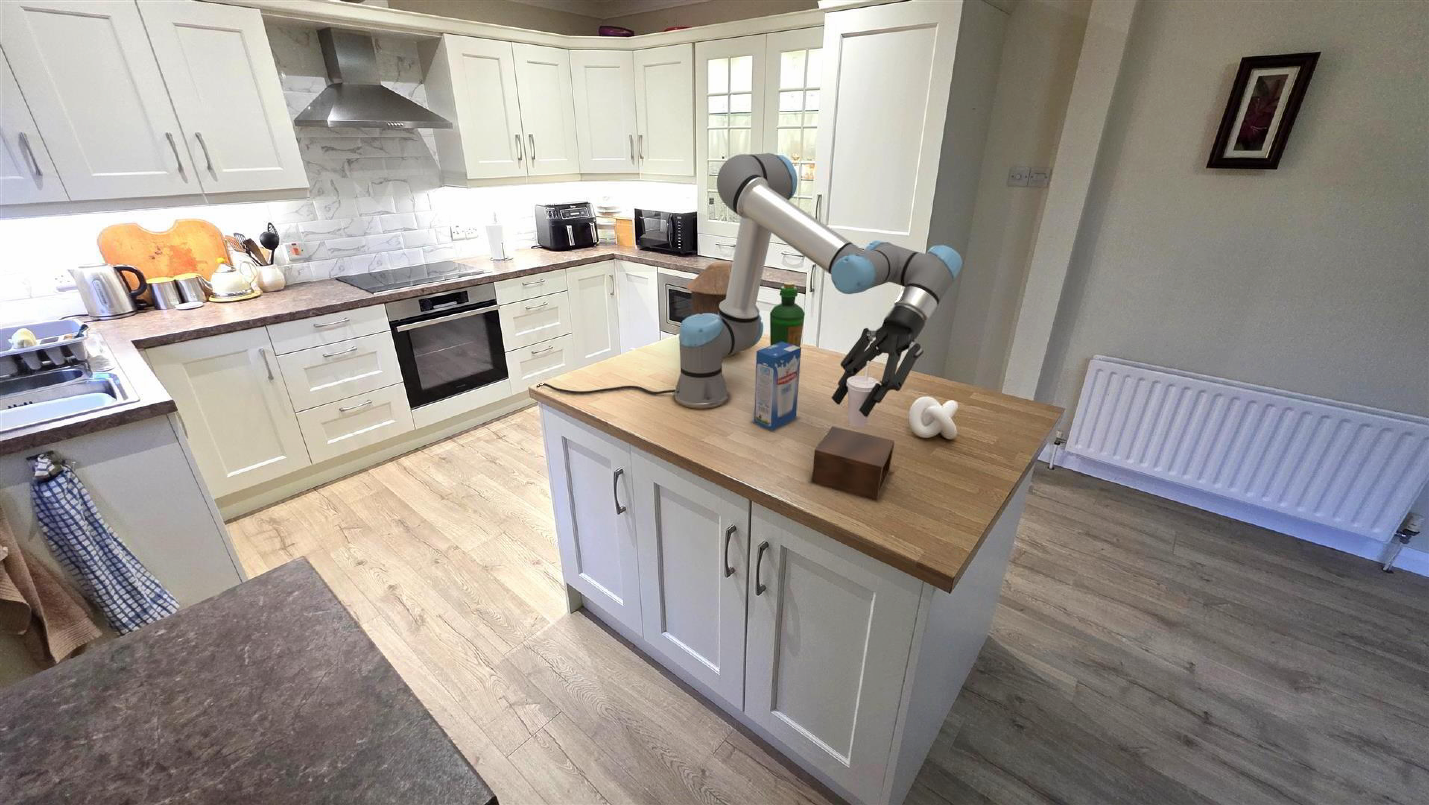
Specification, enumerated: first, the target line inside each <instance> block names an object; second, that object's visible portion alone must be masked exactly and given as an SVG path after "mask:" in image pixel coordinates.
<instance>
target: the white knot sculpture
mask: <svg viewBox="0 0 1429 805" xmlns="http://www.w3.org/2000/svg"><path fill="white" fill-rule="evenodd" d="M958 409H959V404H958V402H957V401H956V400H951V399H950V400H948V401H945V403H943V404H942V405H941V403H940V402H939V401H938V400H937V399H935V397H932V396H921V397H919V398H917V399H916V400H915V401H914V402H913V403H912V405H911V406H910V409H909V411H908V424H909V426H910V429H911V431H912V433H914V434H915V435H916V436H918V437H920V438H924V439H928V438H929V439H930V438H933V437H935V436H937V435H938V434H941V436H942V437H943V438H945V439H946V440H953V439H955V438H956V437H957V435H958V429H957V427H956V424H955V423H954V422H955V421H953V419H952V418H953V417H954V415H955V414H956V412H957V411H958Z"/></svg>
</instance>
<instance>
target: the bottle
mask: <svg viewBox="0 0 1429 805" xmlns="http://www.w3.org/2000/svg"><path fill="white" fill-rule="evenodd" d="M795 284H796V283H795V282H793V281H785V282H783V286H781V287H780V291H779V296H780V302H779V303H777V304H775V305H774V306H773V308H772V309H771V311H770V313H769V337H770V338H769V341H770V343H769V346H771V345H774V344H777V343H780V342H785V343H788V344H791V345H794V346H798V347H801V344H802V338H803V337H802V336H803V331H804V330H803V329H804V323H805V314H806V313H805V311H804V309H803V308H802V307H801V306H800V305H798V304H797V303H796V297H798V295H799V294H798V288H797V287H796V286H795Z"/></svg>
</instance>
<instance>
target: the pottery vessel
mask: <svg viewBox="0 0 1429 805" xmlns="http://www.w3.org/2000/svg"><path fill="white" fill-rule="evenodd" d="M732 263H733V262H712V263H710V264H708V266H706V267H705V268H704V269H703V270H702V271H701V272H700V273H699V274H698V275H697V276H696V277H695V278H694V279H693V280H691V281H690V282H688V283H686V285H685V288H686V289H687V290H688V291H690V296H691V316H692V315H696V314H703V313H711V314H716V315H718V309H719V304H720V302H722V301H723V300H725V299H726V295H727V290H728V285H729V279H730V274H731V268H732Z"/></svg>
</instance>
